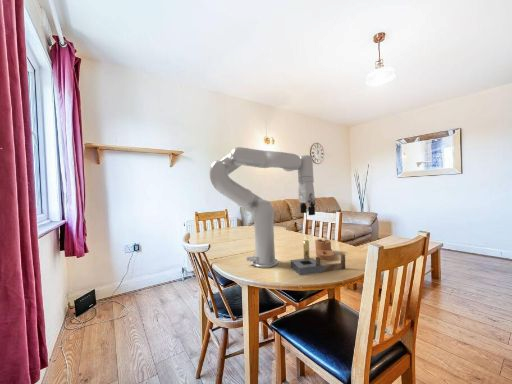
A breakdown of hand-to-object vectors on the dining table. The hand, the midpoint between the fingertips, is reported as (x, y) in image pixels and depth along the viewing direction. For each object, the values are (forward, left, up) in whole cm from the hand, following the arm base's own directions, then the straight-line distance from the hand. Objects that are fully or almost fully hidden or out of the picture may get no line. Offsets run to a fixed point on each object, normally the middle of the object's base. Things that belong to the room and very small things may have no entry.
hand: (307, 213), depth 118 cm
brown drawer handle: (+3, -16, -24) cm, 28 cm away
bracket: (+11, +4, -24) cm, 27 cm away
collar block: (-7, -12, -24) cm, 27 cm away
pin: (-2, -1, -24) cm, 24 cm away
